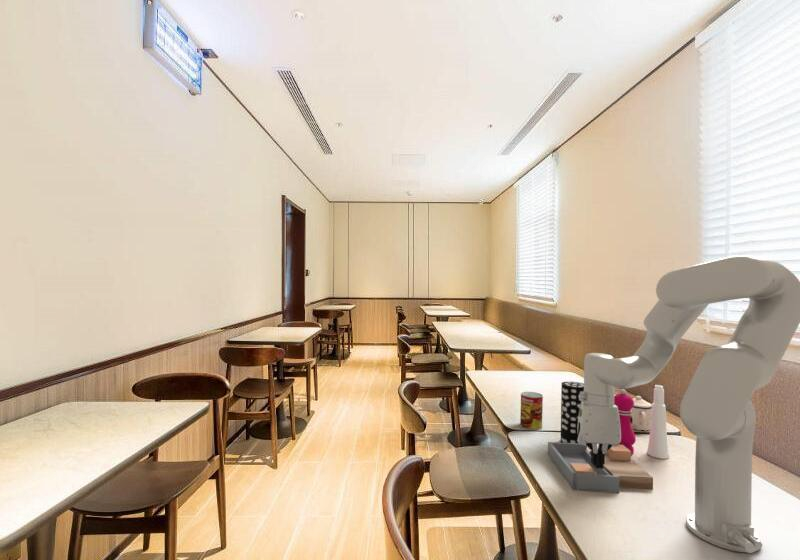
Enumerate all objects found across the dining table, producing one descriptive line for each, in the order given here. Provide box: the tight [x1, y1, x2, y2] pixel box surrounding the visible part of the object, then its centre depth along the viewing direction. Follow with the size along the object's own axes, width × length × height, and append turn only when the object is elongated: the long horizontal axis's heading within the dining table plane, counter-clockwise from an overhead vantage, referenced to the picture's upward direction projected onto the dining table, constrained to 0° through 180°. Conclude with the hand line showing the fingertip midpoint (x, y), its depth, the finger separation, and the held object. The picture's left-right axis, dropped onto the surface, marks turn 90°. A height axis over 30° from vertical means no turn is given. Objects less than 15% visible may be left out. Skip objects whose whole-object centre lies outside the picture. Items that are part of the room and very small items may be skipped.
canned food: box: [519, 391, 544, 431], centre depth 152 cm, size 8×8×12 cm
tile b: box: [607, 445, 632, 460], centre depth 119 cm, size 5×5×2 cm
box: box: [547, 441, 620, 494], centre depth 115 cm, size 22×12×4 cm, turn 176°
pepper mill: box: [614, 388, 637, 455], centre depth 131 cm, size 7×7×20 cm
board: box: [589, 450, 654, 490], centre depth 115 cm, size 16×10×3 cm, turn 176°
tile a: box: [570, 463, 595, 474], centre depth 111 cm, size 5×5×2 cm
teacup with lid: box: [630, 395, 652, 432], centre depth 153 cm, size 12×9×12 cm
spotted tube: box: [560, 381, 584, 443], centre depth 136 cm, size 8×8×20 cm
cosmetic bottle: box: [646, 384, 670, 460], centre depth 128 cm, size 6×6×22 cm
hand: (597, 466), depth 110 cm, fingers closed
